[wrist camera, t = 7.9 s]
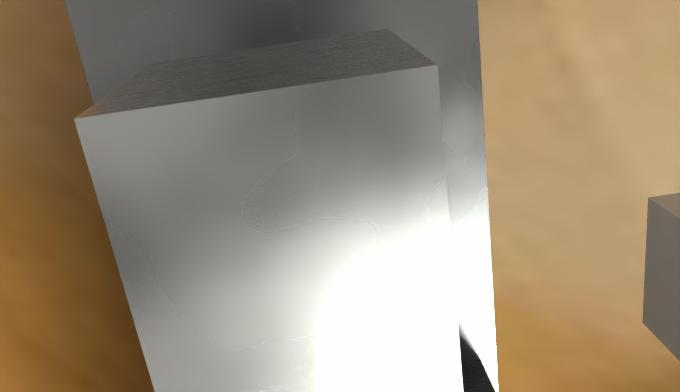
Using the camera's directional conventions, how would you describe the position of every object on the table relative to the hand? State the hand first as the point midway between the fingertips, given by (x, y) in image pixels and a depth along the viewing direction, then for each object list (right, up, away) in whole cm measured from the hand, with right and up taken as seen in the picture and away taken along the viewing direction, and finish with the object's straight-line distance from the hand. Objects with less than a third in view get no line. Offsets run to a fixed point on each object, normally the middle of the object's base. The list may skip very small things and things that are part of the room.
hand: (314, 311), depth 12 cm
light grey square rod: (+1, -7, +3) cm, 8 cm away
